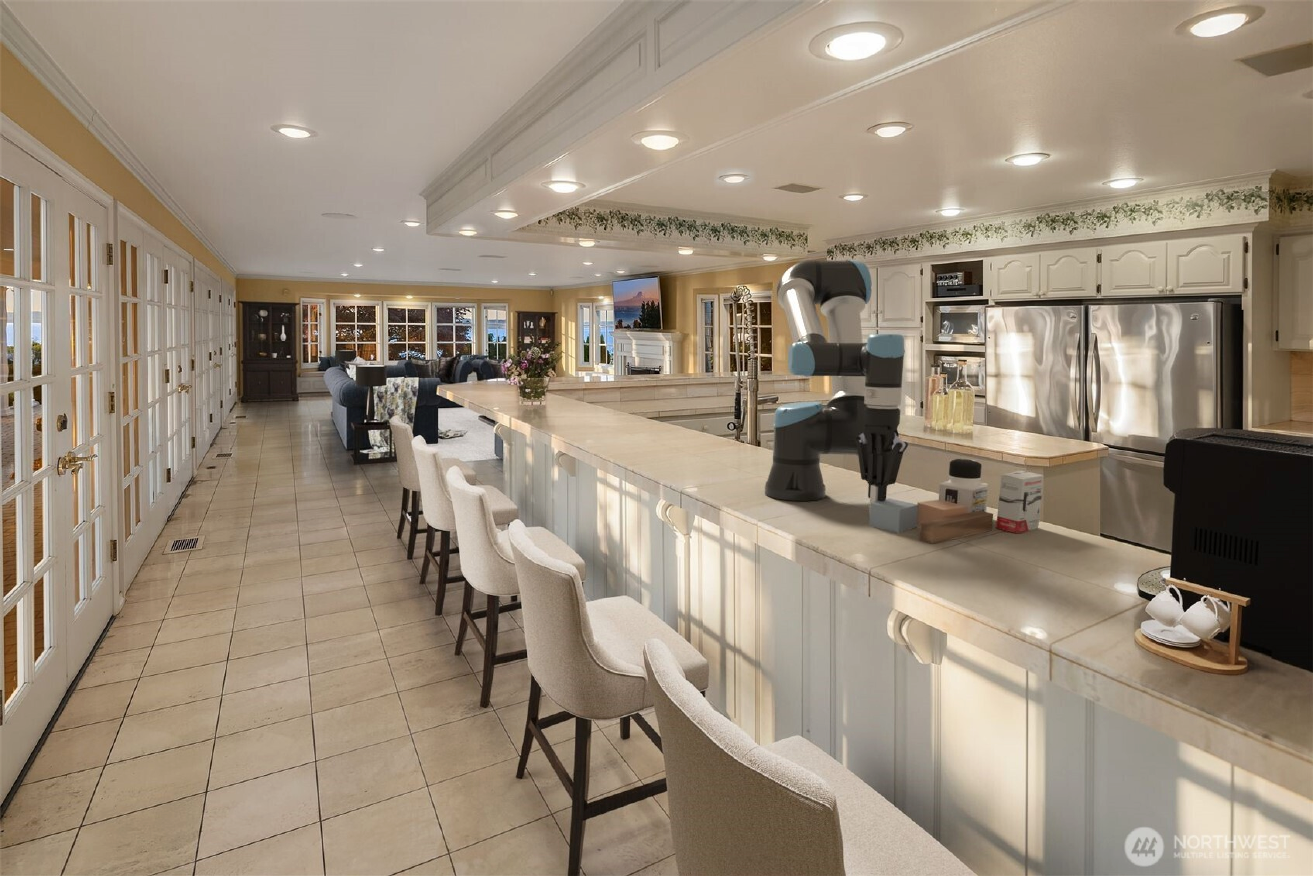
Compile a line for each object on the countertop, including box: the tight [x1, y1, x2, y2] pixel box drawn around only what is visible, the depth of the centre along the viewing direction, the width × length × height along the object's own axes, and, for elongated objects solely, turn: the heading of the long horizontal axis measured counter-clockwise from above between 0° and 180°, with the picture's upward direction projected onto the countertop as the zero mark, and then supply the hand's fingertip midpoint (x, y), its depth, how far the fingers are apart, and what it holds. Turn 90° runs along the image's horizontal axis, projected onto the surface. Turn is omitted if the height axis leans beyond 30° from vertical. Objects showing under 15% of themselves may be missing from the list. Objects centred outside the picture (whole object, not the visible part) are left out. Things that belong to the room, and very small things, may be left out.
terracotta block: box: [917, 499, 967, 526], centre depth 150 cm, size 7×7×5 cm
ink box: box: [995, 470, 1045, 534], centre depth 149 cm, size 8×5×12 cm, turn 123°
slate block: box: [868, 498, 918, 534], centre depth 150 cm, size 7×7×5 cm
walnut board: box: [919, 511, 994, 545], centre depth 144 cm, size 3×20×4 cm, turn 122°
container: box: [938, 458, 989, 513], centre depth 158 cm, size 8×8×13 cm
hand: (876, 514), depth 154 cm, fingers closed
